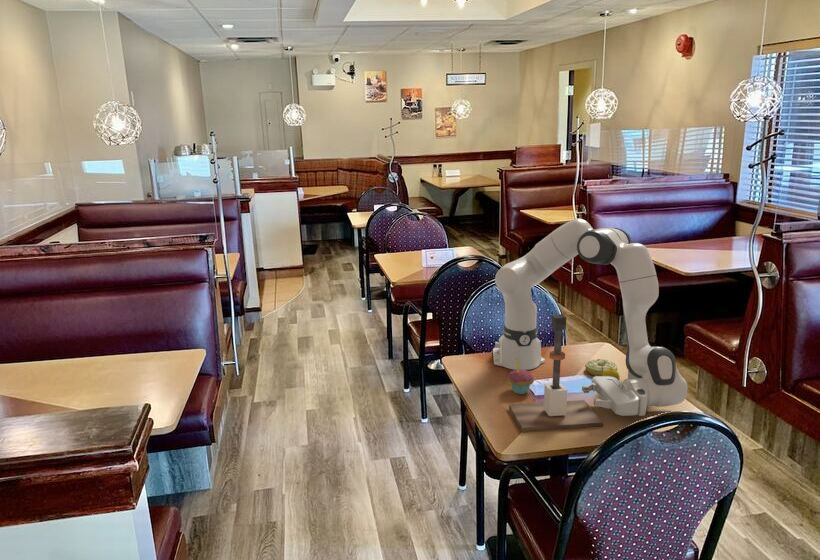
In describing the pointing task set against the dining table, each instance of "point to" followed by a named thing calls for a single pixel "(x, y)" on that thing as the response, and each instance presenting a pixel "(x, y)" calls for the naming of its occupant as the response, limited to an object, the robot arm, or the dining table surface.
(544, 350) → the dining table surface
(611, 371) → the lemon
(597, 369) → the decorated donut
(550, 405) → the sleeve
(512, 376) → the cupcake
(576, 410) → the post stand
